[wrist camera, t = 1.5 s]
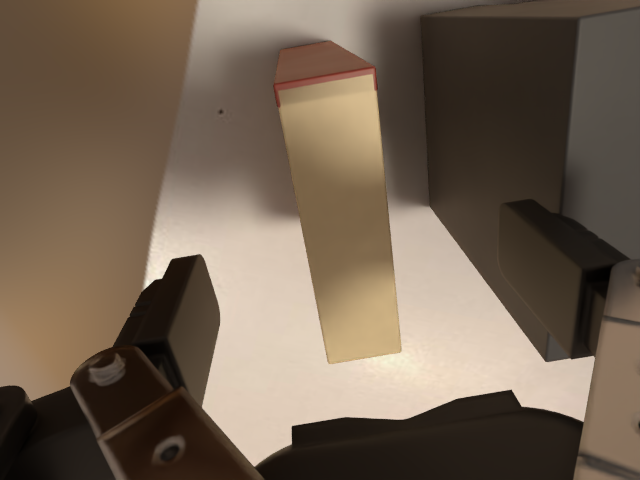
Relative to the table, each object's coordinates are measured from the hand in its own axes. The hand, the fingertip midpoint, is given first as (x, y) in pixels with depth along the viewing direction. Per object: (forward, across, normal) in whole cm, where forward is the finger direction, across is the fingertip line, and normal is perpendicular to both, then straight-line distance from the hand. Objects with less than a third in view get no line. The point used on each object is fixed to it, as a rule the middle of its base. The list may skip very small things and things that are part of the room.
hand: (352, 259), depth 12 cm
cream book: (+13, 0, 0) cm, 13 cm away
